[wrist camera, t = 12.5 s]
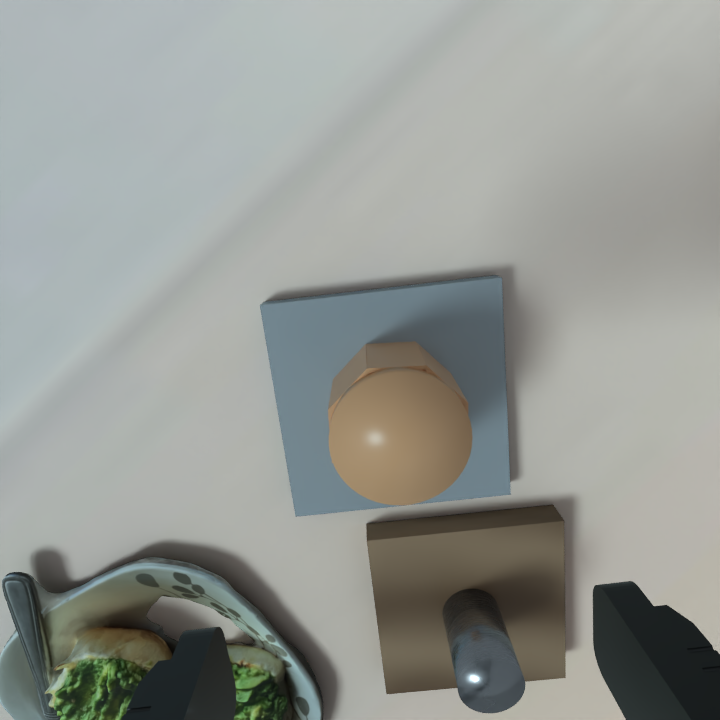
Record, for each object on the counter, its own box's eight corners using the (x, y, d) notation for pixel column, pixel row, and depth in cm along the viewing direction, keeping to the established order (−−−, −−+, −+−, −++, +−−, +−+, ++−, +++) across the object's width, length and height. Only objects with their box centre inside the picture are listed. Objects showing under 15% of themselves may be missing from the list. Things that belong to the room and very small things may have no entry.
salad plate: (-78, 616, 30) (-156, 687, 25) (169, 471, 27) (131, 521, 22) (131, 820, 34) (97, 911, 30) (360, 712, 31) (360, 794, 27)
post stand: (555, 655, 30) (602, 760, 24) (385, 671, 30) (391, 779, 24) (553, 504, 27) (605, 582, 21) (366, 523, 27) (368, 605, 22)
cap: (450, 339, 24) (473, 369, 19) (451, 449, 25) (472, 502, 21) (330, 345, 24) (323, 376, 19) (338, 455, 25) (333, 508, 21)
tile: (505, 484, 27) (510, 494, 26) (297, 506, 27) (295, 516, 26) (496, 274, 24) (501, 277, 23) (264, 301, 24) (259, 305, 23)
